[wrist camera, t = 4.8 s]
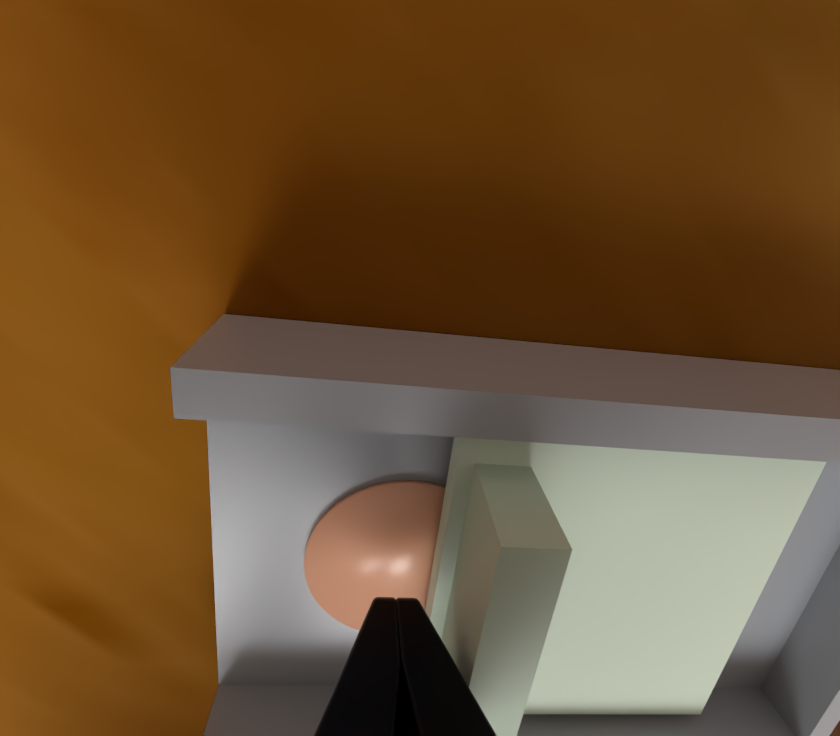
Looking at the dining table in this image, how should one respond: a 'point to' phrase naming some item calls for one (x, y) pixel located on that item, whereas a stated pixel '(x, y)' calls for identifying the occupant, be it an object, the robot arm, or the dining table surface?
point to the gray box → (425, 487)
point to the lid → (603, 572)
